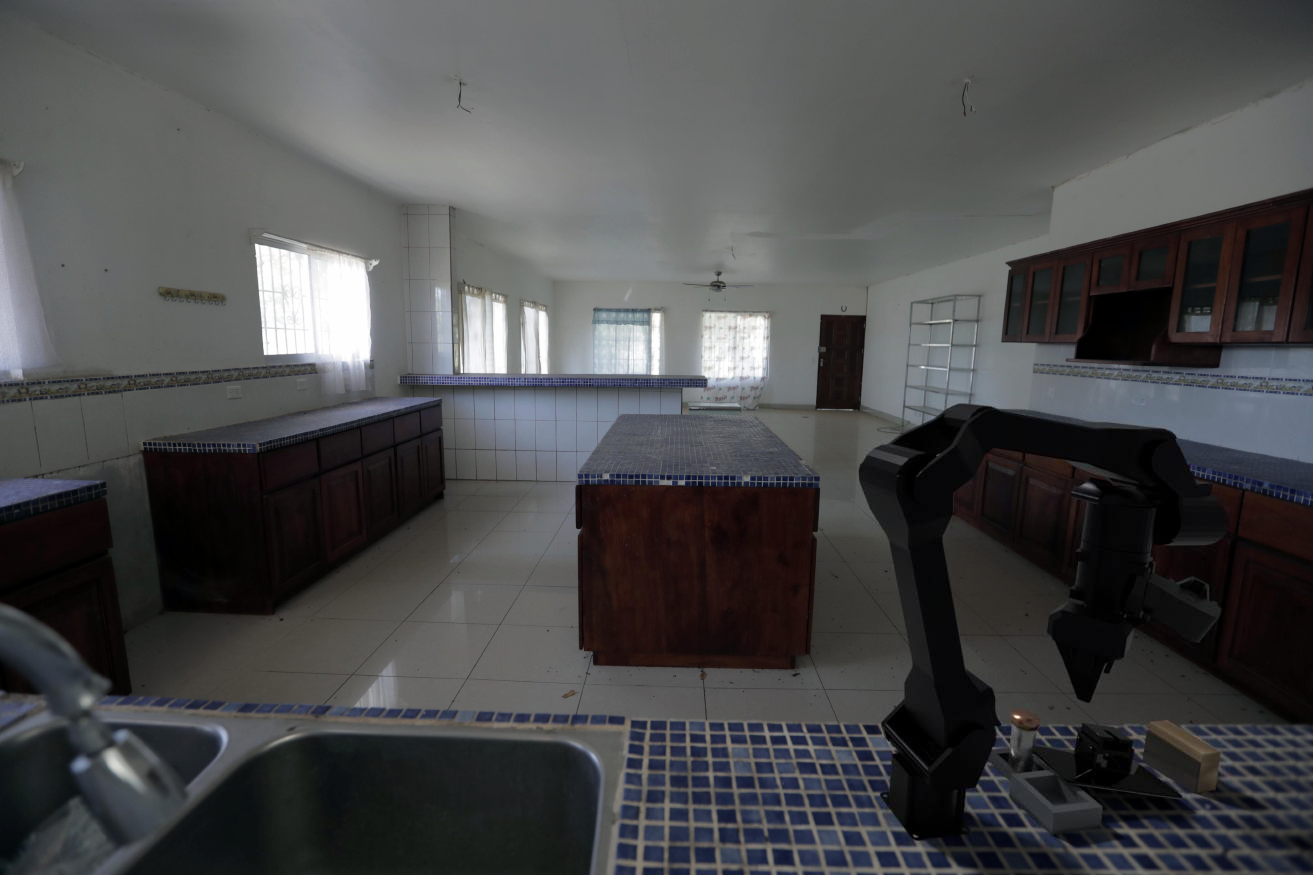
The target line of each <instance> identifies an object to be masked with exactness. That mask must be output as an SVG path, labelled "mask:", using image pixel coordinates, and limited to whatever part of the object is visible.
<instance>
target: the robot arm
mask: <svg viewBox="0 0 1313 875" xmlns="http://www.w3.org/2000/svg"><path fill="white" fill-rule="evenodd" d="M1177 438H1178V436H1177V435H1176V434H1175V433H1174V431H1172V430H1169V429H1166V428H1163V427H1162V428H1161V427H1154V426H1153V427H1152V426H1144V425H1136V424H1126V423H1117V422H1109V421H1099V422H1098V421H1097V422H1094V421H1093V422H1089V421H1088V422H1080V423H1076V424H1075V423H1070V422H1064V421H1063V422H1062V421H1058V420H1053V419H1047V418H1042V417H1037V416H1030V415H1026V414H1021V413H1020V414H1019V413H1016V412H1015V413H1014V412H1008V411H1004V410H1000V409H998V408H996V407H995V406H990V405H983V404H972V403H963V402H962V403H961V402H960V403H957V404H954V405H952V406H949V407H947V408H946V409H945V410H943V411H941V412H940V413H939V414H938V415H937V416H936V417H934V418H933V419H930V420H928V421H925V422H923V423H922V424H919V425H918V426H915V427H913V428H911V429H909V430H906V431H905V432H902V433H900V434H898V435H897V436H896V437H894V439H892V440H891V441H889V442H888V443H886V444H880V445H878V446H876V447H874V448H873V449H871V450H870V452H868V453H867V454H866V455H865V458H864V459H863V460H862V462H861V463H860V464H859V466H858V481H859V485H860V486H861V490H862V492H863V495H864V497H865V500H866V502H867V505H868V507H869V511H871V513H872V515H873V516H874V518H875V519H876V521H877V522H878V524H879V526H880V527H881V529H882V531H883V532H884V534H885V535H886V537H887V540H888V543H889V548H890V553H891V558H892V562H893V563H892V564H893V569H894V575H895V580H896V584H897V590H898V593H899V600H900V605H901V610H902V615H903V619H904V626H905V630H906V635H907V636H906V637H907V641H908V642H907V643H908V646H909V651H910V655H911V662H912V664H911V665H912V666H911V668H910V670H909V672H908V674H907V676H906V678H905V680H904V683H903V686H904V688H903V689H904V691H903V692H904V698H903V699H902V700H901V702H899V703H898V704H897V705H896V707H895V708H894V709H893V710H892V711H890V713H889V714H888V715H887V716H886V717H884V719H883V720H882V721H881V723H880V725H881V729H882V733H883V736H884V738H885V740H886V741H887V742H890V744H891V745H892V746H893V747H894V748H895V750H896V751H897V752H896V753H895V752H894V753H891V763H890V775H889V776H890V777H889V788H888V791H882V792H880V793H879V796H880V798H881V799H882V801H883V803H885V805H886V806H887V807H888V809H889V810H890V812H891V813H892V814H893V816H894V817H895V818H896V820H898V822H899V824H901V826H902V828H903V829H904V831H906V833H907V834H908V836H910V838H911V839H912V840H914V841H923V840H932V839H938V838H939V839H941V838H946V837H954V836H962V835H963V836H964V835H969V834H971V833H972V830H971V828H970V827H969V826H968V824H966V822H965V821H964V820H963V819H962V818H961V817H964V815H965V806H966V797H967V796H966V795H967V789H975V788H976V787H977V786H978V784H979V781H980V778H981V776H982V775H983V772H984V770H985V768H986V765H987V762H989V761H988V758H989V756H990V754H991V751H992V749H993V748H994V747H995V745H996V743H997V728H996V727H999V728H1000V727H1001V726H1002V723H1001V721H1000V720H999V718H998V715H997V709H996V695H995V692H994V689H993V687H992V686H990V685H989V684H987V683H986V682H985V681H984V680H982V679H980V678H979V677H978V676H976V674H974V673H972V672H971V671H970V670H969V669H967V667H966V663H965V658H964V653H963V646H962V645H963V644H962V641H961V634H960V630H959V629H960V628H959V624H958V623H959V622H958V618H957V617H958V616H957V614H956V613H957V612H956V607H955V601H954V594H953V589H952V585H951V578H950V572H949V566H948V562H947V561H948V560H947V555H946V549H945V544H944V534H945V532H946V530H947V529H948V527H949V526H948V525H949V524H950V522H951V521H952V520H951V519H952V518H953V515H954V511H955V509H954V505H955V502H954V501H955V500H954V499H955V495H954V494H955V493H956V491H958V490H959V489H961V487H963V486H965V484H967V483H968V482H970V481H971V480H972V479H973V478H974V477H975V475H976V473H977V472H978V470H979V467H980V465H981V464H982V462H983V460H984V458H985V456H986V455H987V454H988V453H989V452H991V451H992V450H993V449H996V450H997V449H998V450H1003V451H1004V450H1005V451H1009V452H1015V453H1021V454H1028V455H1033V456H1039V457H1045V458H1050V459H1051V458H1052V459H1057V460H1062V461H1065V462H1067V463H1068V464H1070V465H1071V466H1072V467H1075V468H1078V469H1080V470H1083V471H1085V472H1088V473H1090V474H1093V475H1097V476H1101V477H1104V478H1105V479H1102V478H1097V477H1089V478H1088V479H1087V481H1085V482H1084V483H1083V484H1081V485H1078V486H1077V487H1075V488H1074V489H1072V490H1071V491H1070V494H1069V495H1070V497H1071V498H1073V499H1077V500H1079V501H1084V502H1086V507H1085V515H1084V521H1083V522H1084V523H1083V528H1082V534H1081V535H1082V536H1081V543H1080V547H1079V548H1078V549H1076V550H1075V553H1074V559H1073V561H1076V562H1078V564H1077V571H1076V579H1075V584H1073V586H1072V587H1070V588H1069V595H1068V598H1069V599H1072V600H1076V601H1080V602H1081V603H1078V602H1073V601H1067V602H1066V603H1065V602H1064V604H1062V605H1060V606H1057V608H1055V609H1054V610H1053V611H1052V612H1051V613H1050V614H1049V615H1048V619H1047V620H1048V621H1047V628H1046V634H1047V635H1049V636H1050V638H1051V640H1052V641H1053V642H1054V643H1055V646H1056V648H1057V650H1058V652H1059V654H1060V657H1061V659H1062V662H1063V664H1064V667H1065V670H1066V672H1067V675H1068V678H1069V680H1070V683H1071V686H1072V688H1073V692H1074V694H1075V697H1076V699H1077V700H1079V701H1081V702H1083V703H1086V704H1090V703H1091V702H1092V700H1093V698H1094V695H1095V693H1096V691H1097V688H1098V686H1099V683H1100V681H1101V678H1102V676H1103V674H1106V675H1110V673H1111V671H1112V670H1113V667H1114V665H1115V663H1116V661H1121V660H1123V659H1124V658H1126V656H1127V655H1128V653H1129V652H1130V650H1131V649H1130V648H1131V644H1132V641H1133V635H1134V631H1135V630H1134V629H1136V628H1139V627H1141V626H1143V625H1145V624H1147V623H1148V622H1149V620H1150V619H1151V618H1153V619H1154V620H1155V621H1158V622H1160V623H1161V624H1163V625H1165V626H1167V627H1168V628H1170V629H1172V630H1174V631H1175V632H1178V633H1179V634H1178V635H1179V636H1180V637H1182V638H1184V639H1185V640H1188V641H1189V642H1193V643H1200V642H1201V640H1202V639H1203V638H1204V636H1206V634H1207V633H1208V632H1209V630H1210V629H1211V628H1212V627H1213V626H1214V624H1215V623H1216V622H1217V620H1218V619H1219V618H1220V615H1221V613H1222V608H1221V607H1220V606H1219V605H1218V602H1217V601H1216V600H1212V601H1211V600H1210V584H1209V583H1207V582H1205V581H1202V580H1201V579H1200V578H1197V577H1195V576H1189V577H1187V578H1185V579H1182V580H1179V581H1178V582H1176V580H1174V579H1172V578H1169V579H1168V578H1165V577H1164V576H1162V575H1160V574H1157V573H1156V572H1155V570H1156V563H1157V562H1156V561H1154V560H1153V558H1154V557H1153V556H1151V551H1152V545H1154V546H1206V545H1212V544H1216V543H1217V542H1218V541H1220V540H1222V539H1223V538H1224V536H1225V535H1226V534H1227V533H1228V530H1229V526H1230V519H1229V517H1228V513H1227V510H1226V508H1225V507H1224V504H1222V503H1221V501H1220V500H1219V499H1218V498H1216V497H1215V496H1214V495H1213V494H1212V493H1213V486H1214V485H1213V483H1209V482H1205V481H1200V480H1199V481H1198V480H1196V479H1195V477H1194V475H1193V473H1192V471H1191V468H1190V466H1189V464H1188V462H1187V459H1186V458H1185V455H1184V453H1183V451H1182V448H1181V447H1180V445H1179V444H1178V441H1177ZM1113 484H1117V485H1113ZM884 795H885V796H884ZM965 829H967V830H965ZM914 835H915V836H917V837H915V836H914Z"/></svg>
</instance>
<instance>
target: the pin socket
mask: <svg viewBox="0 0 1313 875" xmlns="http://www.w3.org/2000/svg"><path fill="white" fill-rule="evenodd" d="M1009 749H1010V747H1001V748H994V749H993V748H992V751H991V754H990V756H989V758H988V761H987V762H989V763H990V764H992V765H993V767H994V768H995V769H997V770H998V771H999V772H1000V773H1001V774H1002V775H1003V776H1004V777H1005V778H1006V779H1007V780H1009V782H1011V774H1017V773H1018V772H1017V771H1016V770H1015V769H1013V768H1012V767H1011V766H1010V765H1009V764H1008V759H1009ZM1043 770H1051V769H1050V768H1049V767H1048V766H1047V765H1046V764H1045V763H1044V762H1043V761H1041V760H1040V759H1039V758H1038V757H1037V756H1036V755H1035V754H1034V761H1033V771H1043Z"/></svg>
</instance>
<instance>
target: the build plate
mask: <svg viewBox="0 0 1313 875" xmlns="http://www.w3.org/2000/svg"><path fill="white" fill-rule="evenodd" d="M1133 745H1134V740H1133V739H1131V738H1130V737H1129V736H1127V735H1126V734H1124V733H1123V732H1121V731H1120V730H1119V729H1117V728H1115V727H1114V726H1109V725H1100V724H1094V723H1088V722H1082V723H1081V727H1080V730H1077V734H1076V740H1075V746H1074V749H1070V748H1064V747H1055V746H1048V745H1041V744H1035V752H1034V755H1035V756H1036V757H1037V758H1038V759H1039V760H1041V761H1042V762H1043V763H1044V764H1046V765H1047V766H1048V767H1049V768H1050V769H1051V770H1052V771H1053V772H1055V773H1056V774H1057V775H1058V776H1059V777H1060V778H1061V779H1062V780H1063V781H1064V782H1066V783H1068V784H1074V785H1077V786H1082V787H1090V788H1097V789H1104V790H1111V791H1119V792H1126V793H1134V794H1139V795H1148V796H1153V797H1154V796H1155V797H1162V798H1169V799H1177V800H1183V794H1181V793H1179V792H1178V791H1177V790H1175V789H1174V788H1172V787H1171V786H1170V785H1168V784H1167V783H1166V782H1164V781H1163V780H1162V779H1160V778H1159V777H1158V776H1156V775H1155V774H1154V773H1152V772H1151V771H1150V770H1148V769H1147V768H1145V767H1144V766H1143V765H1141V764H1140V763H1139V762H1137V761H1136V760H1134V758H1135V756H1134V755H1135V750H1136V749H1135V748H1133Z"/></svg>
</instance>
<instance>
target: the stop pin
mask: <svg viewBox="0 0 1313 875" xmlns="http://www.w3.org/2000/svg"><path fill="white" fill-rule="evenodd" d="M1010 723H1011V732H1010V740H1009V748H1010V749H1009V759H1008V760H1007V763H1008V764H1009V765H1010V766H1011V767H1012V768H1013V769H1015V770H1016V771H1017V772H1018V773H1026V772H1033V771H1034V769H1033V761H1034V755H1035V754H1034V752H1035V745H1036V741H1037V732H1038V730H1039V729H1040V723H1041V718H1040V716H1038V714H1035V713H1034V712H1032V711H1030V710H1027V709H1023V708H1014V709H1012V710H1011V711H1010Z"/></svg>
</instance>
